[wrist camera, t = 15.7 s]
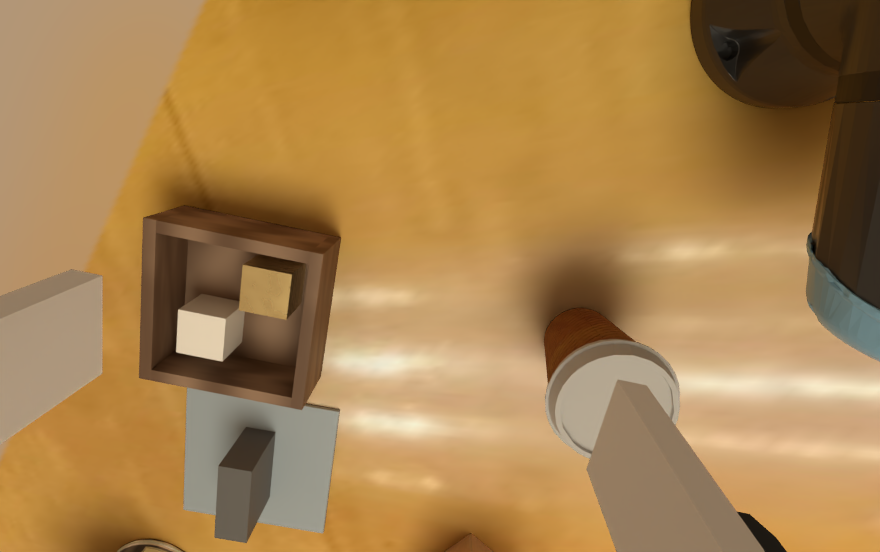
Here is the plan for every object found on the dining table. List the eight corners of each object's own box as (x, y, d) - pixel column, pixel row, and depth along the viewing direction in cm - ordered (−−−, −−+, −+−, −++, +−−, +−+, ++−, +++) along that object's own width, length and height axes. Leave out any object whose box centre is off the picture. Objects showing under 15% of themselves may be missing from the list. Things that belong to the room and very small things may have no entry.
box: (341, 237, 44) (323, 254, 39) (320, 376, 48) (302, 410, 43) (184, 205, 44) (143, 217, 38) (177, 347, 48) (139, 378, 42)
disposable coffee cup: (598, 271, 44) (646, 322, 33) (649, 353, 46) (711, 428, 35) (506, 326, 46) (522, 392, 35) (559, 402, 48) (590, 489, 37)
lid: (341, 406, 50) (323, 449, 43) (325, 526, 54) (306, 582, 48) (192, 380, 50) (150, 420, 43) (188, 502, 54) (150, 556, 47)
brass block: (306, 261, 44) (291, 274, 40) (301, 303, 45) (286, 319, 41) (261, 252, 44) (242, 264, 40) (257, 294, 45) (238, 310, 41)
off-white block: (245, 302, 45) (225, 318, 42) (242, 342, 47) (222, 361, 43) (201, 293, 45) (178, 309, 42) (199, 333, 47) (176, 352, 43)
